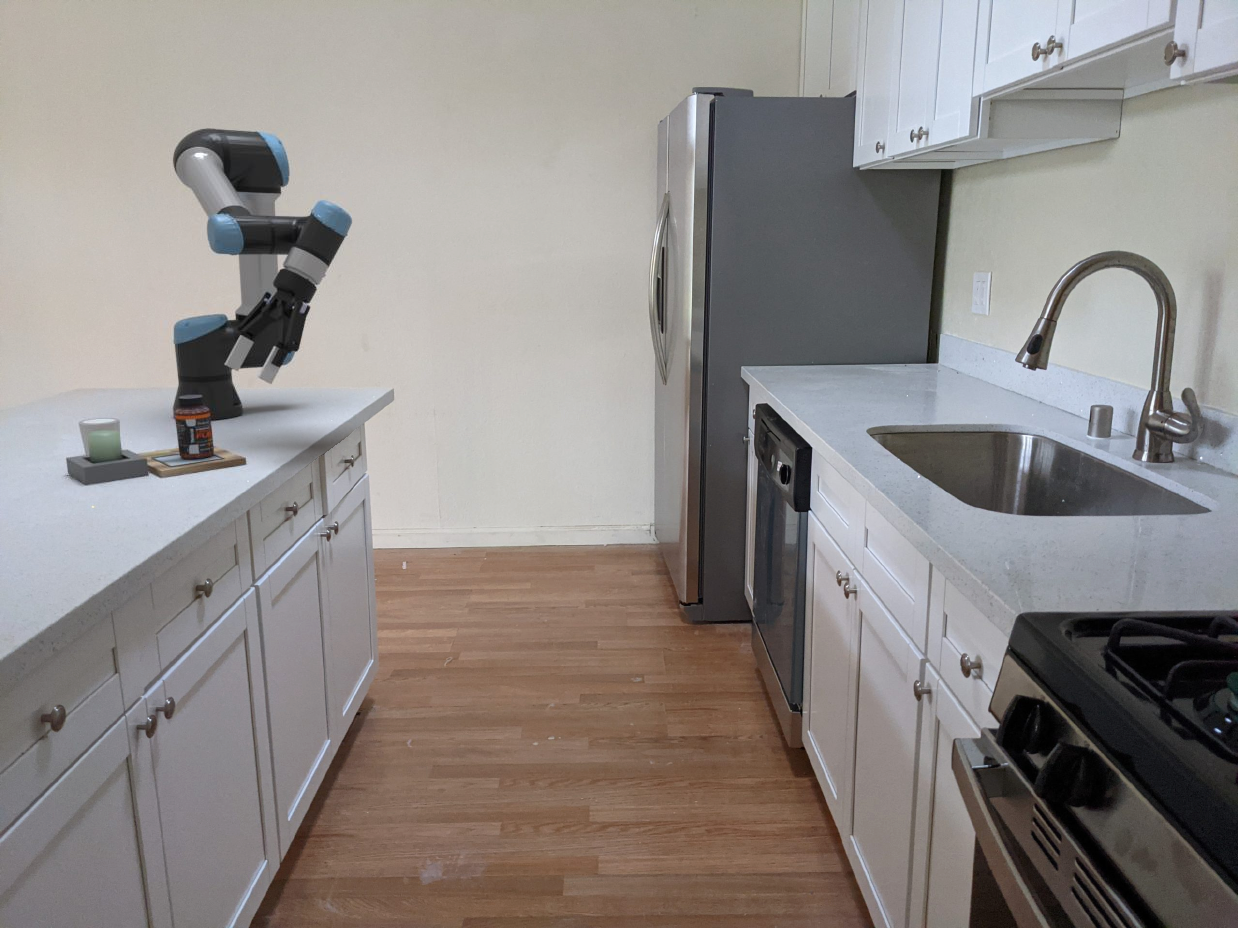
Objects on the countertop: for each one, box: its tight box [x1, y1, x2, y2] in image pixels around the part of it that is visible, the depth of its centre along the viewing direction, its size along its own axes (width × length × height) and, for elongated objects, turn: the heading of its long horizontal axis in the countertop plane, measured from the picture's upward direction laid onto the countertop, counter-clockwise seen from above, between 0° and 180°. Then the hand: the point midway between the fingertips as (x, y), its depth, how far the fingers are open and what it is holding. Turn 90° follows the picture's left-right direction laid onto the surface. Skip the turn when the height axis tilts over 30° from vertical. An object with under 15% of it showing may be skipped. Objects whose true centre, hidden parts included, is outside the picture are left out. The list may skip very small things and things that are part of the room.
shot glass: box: [78, 417, 121, 455], centre depth 176 cm, size 7×7×7 cm
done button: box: [87, 430, 123, 464], centre depth 161 cm, size 5×5×5 cm
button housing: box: [65, 449, 149, 486], centre depth 162 cm, size 10×10×3 cm
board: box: [137, 445, 247, 478], centre depth 172 cm, size 17×15×1 cm
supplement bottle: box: [174, 395, 215, 459], centre depth 170 cm, size 6×6×11 cm
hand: (247, 374), depth 175 cm, fingers open, 13 cm apart
